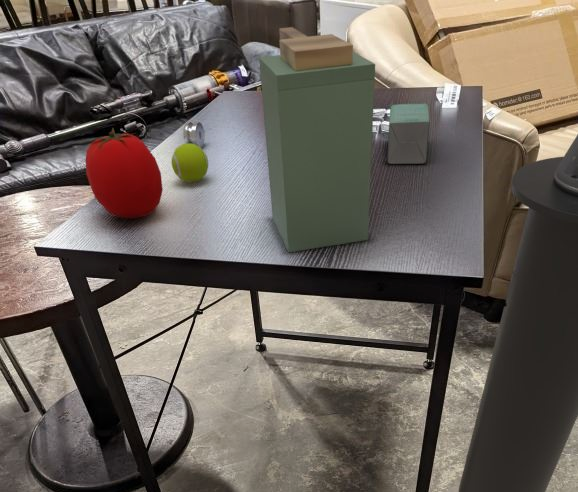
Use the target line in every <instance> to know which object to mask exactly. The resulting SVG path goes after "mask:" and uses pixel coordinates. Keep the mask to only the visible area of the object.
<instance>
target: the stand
mask: <svg viewBox="0 0 578 492" xmlns="http://www.w3.org/2000/svg"><path fill="white" fill-rule="evenodd" d="M258 63H259V74H260V85H261V87H260V88H261V99H262V108H263V109H262V110H263V121H264V135H265V144H266V145H265V146H266V156H267V168H268V180H269V192H270V203H271V215H272V221H273V223H274V225H275V227H276V229H277V231H278V233H279V236H280V237H281V240H282V242H283V244H284V246H285V248H286V250H287V252H288V253H294V252H301V251H307V250H314V249H319V248H326V247H332V246H333V247H334V246H338V245H344V244H345V245H346V244H351V243H358V242H363V241H368V240H369V225H370V223H369V221H370V202H371V201H370V200H371V199H370V197H371V179H372V178H371V177H372V175H371V174H372V153H373V152H372V149H373V129H374V127H373V126H374V102H375V101H374V100H375V79H376V63H375V62H373V61H371V60H370V59H367V58H365V57H364V56H362V55H360V54H358V53H357V52H355V51H353V64H352V65H344V66H335V67H327V68H318V69H309V70H301V71H295V70H294V69H293V68H292V67H291V66H289V65H288V64H287V63H286V62H285V61H284V60H283V59H281V58H280V54H277V55H267V56H259V57H258Z"/></svg>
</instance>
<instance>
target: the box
mask: <svg viewBox="0 0 578 492" xmlns="http://www.w3.org/2000/svg"><path fill="white" fill-rule="evenodd" d="M388 122H389V123H388V136H387V137H388V140H387V142H388V143H387V163H388V164H390V165H417V164H418V165H419V164H420V165H421V164H422V165H423V164H426V162H427V158H428V150H429V139H430V138H429V136H430V129H431V128H430V126H431V121H430V113H429V105H428V104H427V103H400V104H399V103H398V104H392V105H390V109H389V121H388Z"/></svg>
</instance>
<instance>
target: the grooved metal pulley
mask: <svg viewBox="0 0 578 492" xmlns="http://www.w3.org/2000/svg"><path fill="white" fill-rule="evenodd" d="M205 138H206V135H205V128H204V126H203V123H202V122H200V121H196V122H191V121H188V122H186V123H185V124H184V126H183V140H184V144H187V143H191V144H195V145H197V146H199V147H200V148H201V149H203V147H204V146H205V140H206V139H205Z"/></svg>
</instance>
